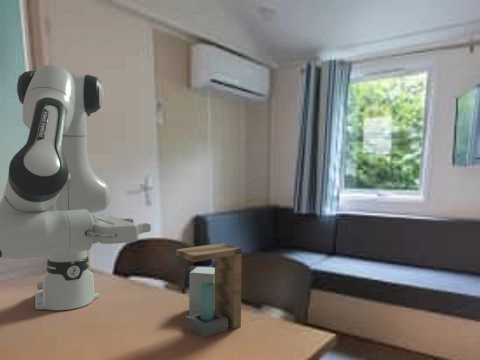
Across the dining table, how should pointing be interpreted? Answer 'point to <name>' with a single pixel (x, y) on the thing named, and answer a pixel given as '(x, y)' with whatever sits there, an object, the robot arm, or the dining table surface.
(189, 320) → the socket
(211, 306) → the peg
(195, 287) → the supplement box
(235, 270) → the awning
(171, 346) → the dining table surface
